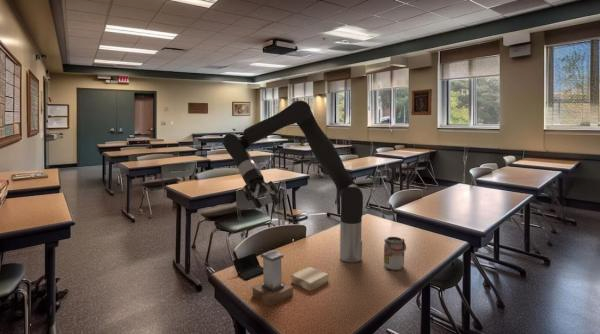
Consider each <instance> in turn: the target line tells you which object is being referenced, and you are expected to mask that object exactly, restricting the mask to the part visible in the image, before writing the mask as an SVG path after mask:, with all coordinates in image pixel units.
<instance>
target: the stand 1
mask: <svg viewBox="0 0 600 334" xmlns="http://www.w3.org/2000/svg"><path fill="white" fill-rule="evenodd" d="M263 283H264V282H262V283H259V284H257V285H255V286H253V287H252V296H253V297H255V298H257V299H258V300H260V301H262V302H264V303H265V304H267V305H269V306H270V307H273V306H275V305H276V304H278V303H281V302H282V301H284V300H286V299H288V298H290V297H292V296H293V295H294V286H292V285H290V284H288V283H286V282H285V281H284V282H283V281H282V284H283V285H284V288H282V289H280V290H278V291H275V292H273V293H272V292H271V291H269V290H267V289H265V288H263V287H262V284H263Z"/></svg>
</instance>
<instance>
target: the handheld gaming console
mask: <svg viewBox="0 0 600 334" xmlns="http://www.w3.org/2000/svg"><path fill="white" fill-rule="evenodd" d="M232 264H233V266H234V269H235V271H236V273H237V274H236V275H237V277H239V278H241V279H242V280H245V281H248V280H250V279H253V278H256V277H258V276H261V275H263V266H261V264H260V262H259V260H258V257H257V255H256V253H252V254H248V255H245V256H243V257H239V258H237V259H233V261H232Z"/></svg>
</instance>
